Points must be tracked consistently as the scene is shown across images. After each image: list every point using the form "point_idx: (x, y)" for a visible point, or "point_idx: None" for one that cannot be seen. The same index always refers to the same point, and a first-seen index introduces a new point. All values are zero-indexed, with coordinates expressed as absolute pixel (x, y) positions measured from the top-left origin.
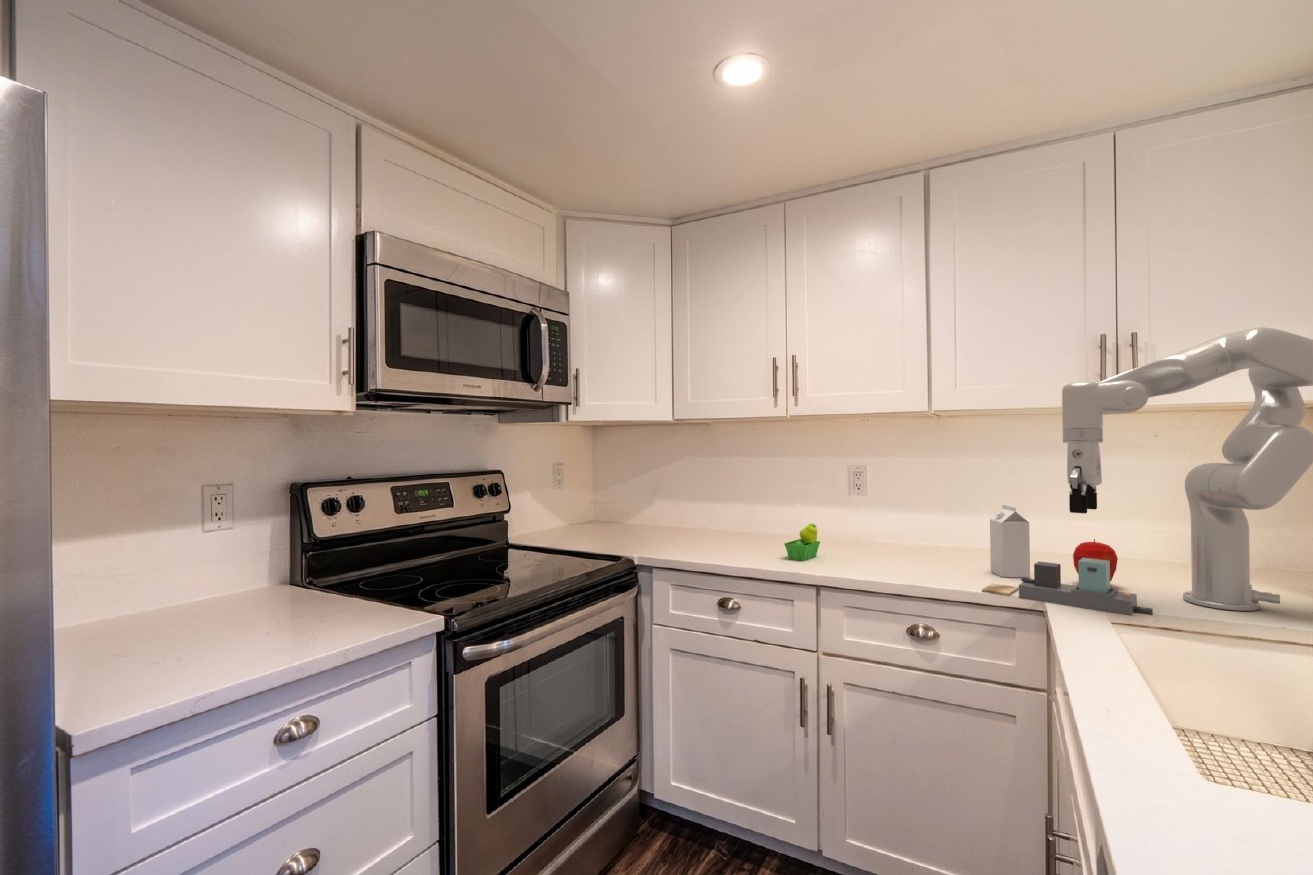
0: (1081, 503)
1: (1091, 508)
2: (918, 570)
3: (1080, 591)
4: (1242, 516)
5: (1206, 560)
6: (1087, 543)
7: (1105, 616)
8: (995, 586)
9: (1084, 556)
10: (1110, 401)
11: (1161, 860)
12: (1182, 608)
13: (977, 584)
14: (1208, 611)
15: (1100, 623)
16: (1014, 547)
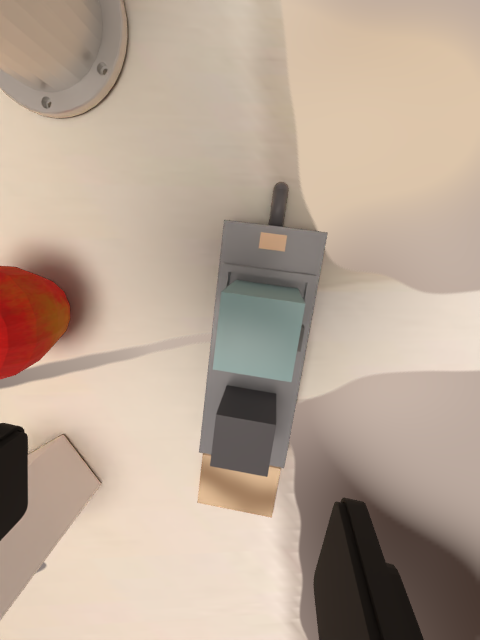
0: (413, 617)
1: (25, 454)
2: (143, 625)
3: (303, 345)
4: None
5: None
6: None
7: (363, 286)
8: (225, 495)
9: (28, 352)
10: None
11: None
12: (171, 124)
13: (205, 523)
14: (166, 65)
15: (439, 295)
16: (30, 523)
